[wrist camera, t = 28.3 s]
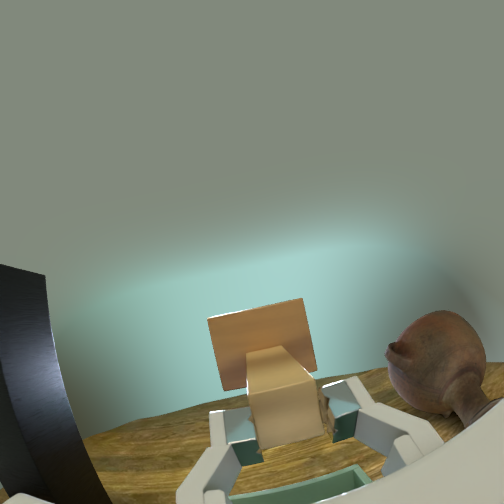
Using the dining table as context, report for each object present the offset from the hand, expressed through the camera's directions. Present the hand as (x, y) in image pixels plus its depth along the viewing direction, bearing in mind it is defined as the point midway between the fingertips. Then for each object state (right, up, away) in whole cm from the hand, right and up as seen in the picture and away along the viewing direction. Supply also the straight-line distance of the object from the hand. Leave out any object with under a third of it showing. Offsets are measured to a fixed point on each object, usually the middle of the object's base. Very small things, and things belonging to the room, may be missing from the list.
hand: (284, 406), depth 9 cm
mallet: (0, -3, +7) cm, 7 cm away
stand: (-20, -31, +4) cm, 37 cm away
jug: (+35, -24, +25) cm, 49 cm away
